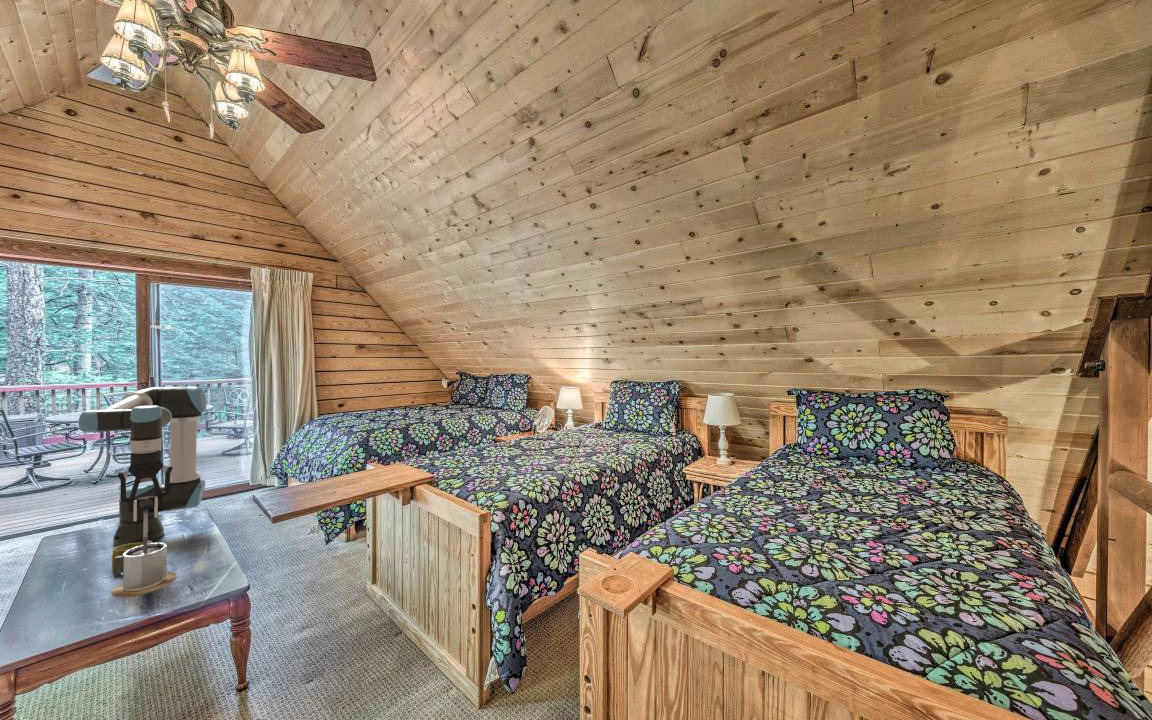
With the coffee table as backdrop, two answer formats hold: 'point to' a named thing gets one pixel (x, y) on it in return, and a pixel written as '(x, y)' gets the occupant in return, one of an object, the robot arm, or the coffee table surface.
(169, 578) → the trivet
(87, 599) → the coffee table surface
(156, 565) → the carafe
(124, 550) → the mug
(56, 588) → the coffee table surface
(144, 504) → the plunger
